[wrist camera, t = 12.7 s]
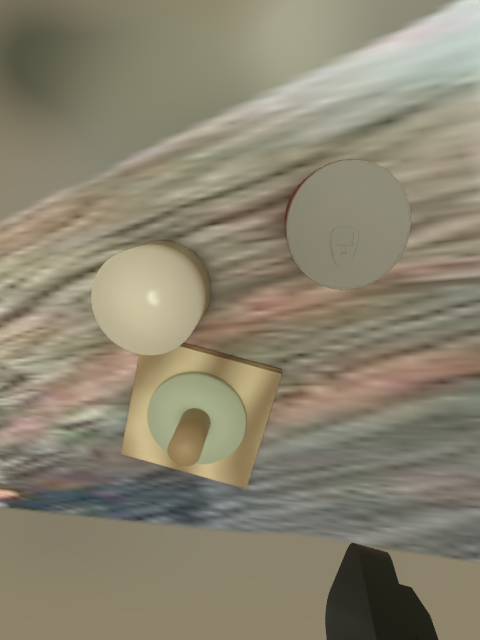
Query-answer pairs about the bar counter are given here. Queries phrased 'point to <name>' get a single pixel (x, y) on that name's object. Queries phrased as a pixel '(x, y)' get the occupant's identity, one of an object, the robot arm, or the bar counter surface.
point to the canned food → (347, 224)
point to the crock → (151, 296)
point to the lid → (196, 418)
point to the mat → (242, 375)
